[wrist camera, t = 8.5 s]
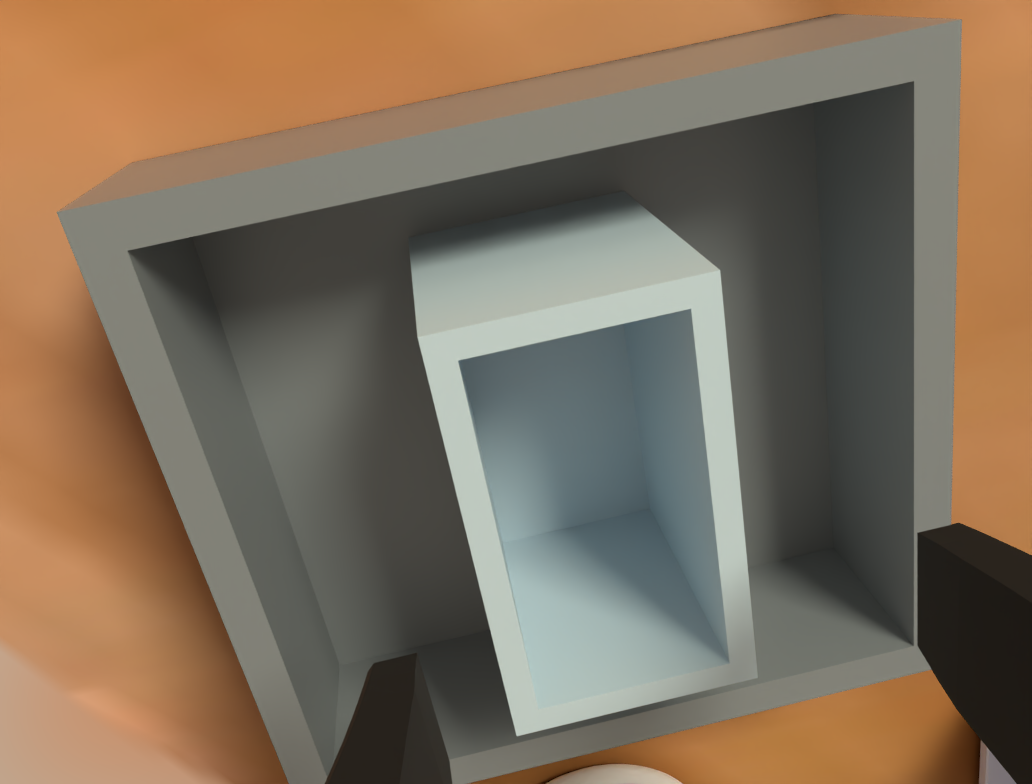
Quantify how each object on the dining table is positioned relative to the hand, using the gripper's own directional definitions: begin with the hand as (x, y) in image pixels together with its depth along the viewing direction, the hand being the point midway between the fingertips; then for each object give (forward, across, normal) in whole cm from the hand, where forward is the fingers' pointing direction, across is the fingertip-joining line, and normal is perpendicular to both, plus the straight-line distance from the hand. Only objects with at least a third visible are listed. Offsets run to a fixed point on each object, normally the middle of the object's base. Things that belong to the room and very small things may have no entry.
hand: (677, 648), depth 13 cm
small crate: (+9, 0, 0) cm, 9 cm away
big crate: (+9, 0, 0) cm, 9 cm away
